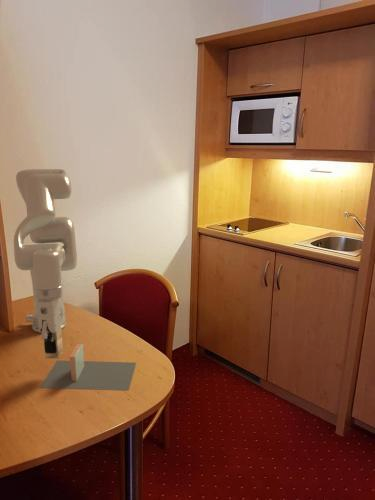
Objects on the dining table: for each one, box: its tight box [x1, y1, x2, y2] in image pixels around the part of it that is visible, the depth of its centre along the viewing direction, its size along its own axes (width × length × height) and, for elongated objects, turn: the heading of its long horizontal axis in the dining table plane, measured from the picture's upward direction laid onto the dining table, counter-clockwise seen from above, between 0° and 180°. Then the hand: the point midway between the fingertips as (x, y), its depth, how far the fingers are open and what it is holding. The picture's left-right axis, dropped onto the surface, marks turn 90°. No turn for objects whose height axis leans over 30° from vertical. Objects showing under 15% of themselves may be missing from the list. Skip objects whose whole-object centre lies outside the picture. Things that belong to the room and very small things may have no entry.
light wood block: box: [43, 327, 64, 360], centre depth 120 cm, size 4×4×11 cm
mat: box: [39, 359, 137, 391], centre depth 123 cm, size 26×15×1 cm, turn 88°
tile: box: [69, 342, 85, 381], centre depth 122 cm, size 2×8×8 cm, turn 178°
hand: (53, 348), depth 121 cm, fingers closed on light wood block, 4 cm apart
